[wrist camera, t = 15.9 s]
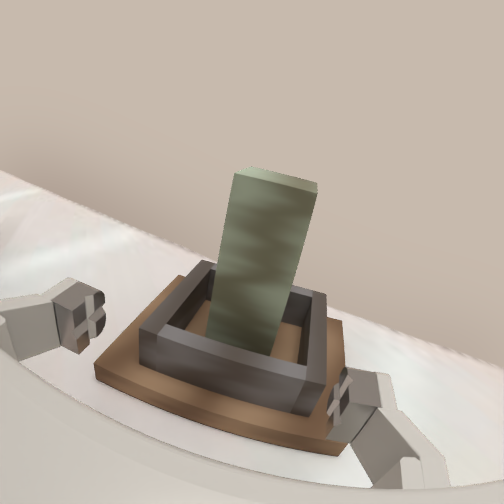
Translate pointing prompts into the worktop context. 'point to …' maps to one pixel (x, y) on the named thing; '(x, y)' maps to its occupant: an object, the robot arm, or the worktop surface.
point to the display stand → (232, 366)
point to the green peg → (258, 257)
